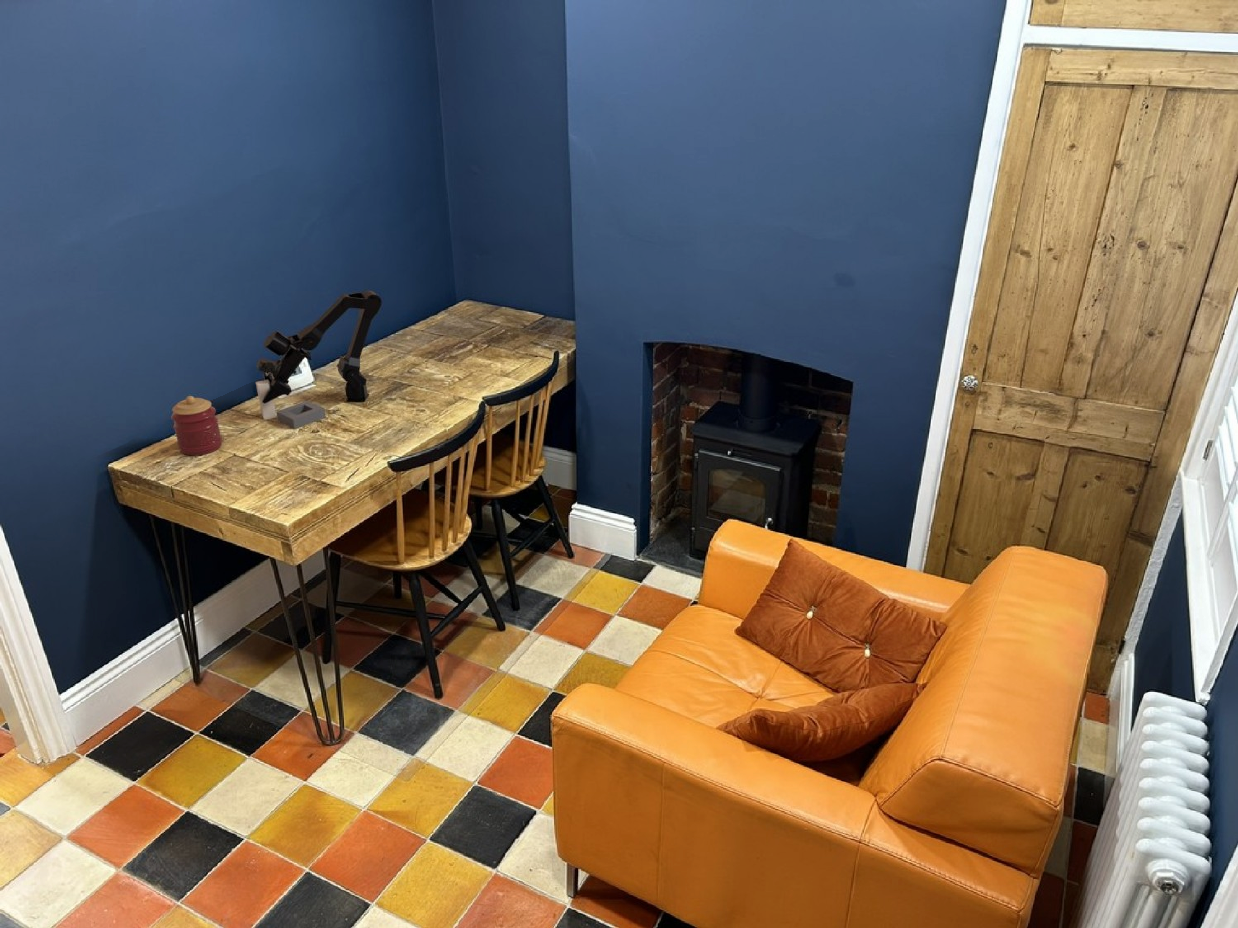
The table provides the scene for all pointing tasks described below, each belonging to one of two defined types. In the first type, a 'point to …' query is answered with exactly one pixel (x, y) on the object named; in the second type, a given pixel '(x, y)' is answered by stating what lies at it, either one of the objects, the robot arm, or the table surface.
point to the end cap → (301, 414)
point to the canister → (196, 426)
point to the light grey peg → (262, 389)
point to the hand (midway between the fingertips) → (261, 399)
